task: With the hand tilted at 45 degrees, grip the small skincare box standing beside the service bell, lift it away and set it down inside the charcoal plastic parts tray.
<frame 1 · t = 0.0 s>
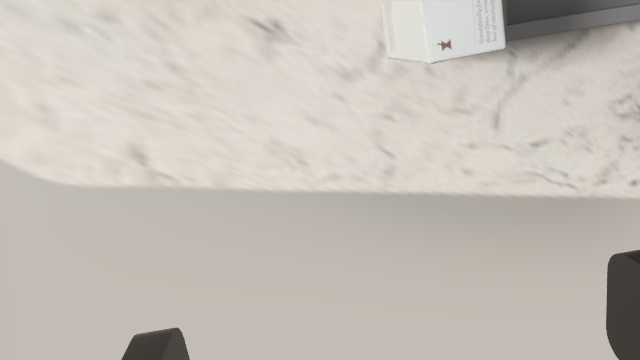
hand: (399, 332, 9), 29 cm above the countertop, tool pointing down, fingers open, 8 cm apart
skincare box: (405, 11, 36), on the countertop
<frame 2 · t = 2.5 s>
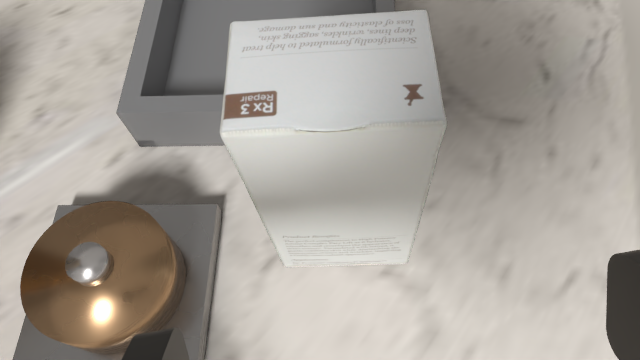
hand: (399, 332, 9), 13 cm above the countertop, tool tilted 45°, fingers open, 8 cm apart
tray: (274, 46, 30), on the countertop
service bell: (128, 290, 23), on the countertop
skincare box: (341, 231, 24), on the countertop
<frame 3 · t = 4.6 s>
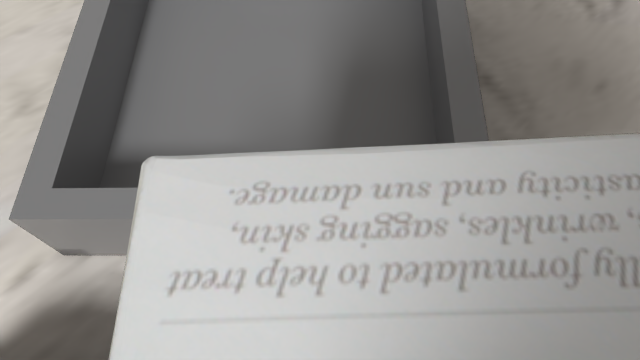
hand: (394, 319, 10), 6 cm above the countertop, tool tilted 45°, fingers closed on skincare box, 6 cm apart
tray: (277, 90, 20), on the countertop
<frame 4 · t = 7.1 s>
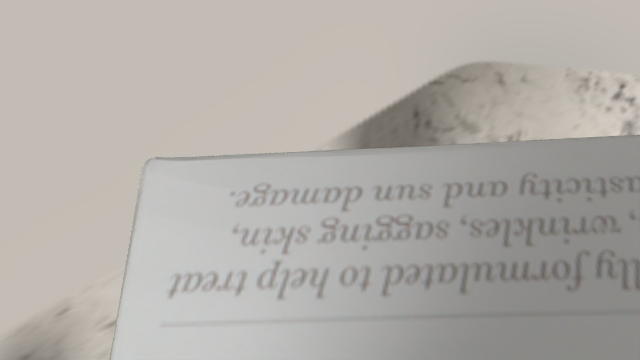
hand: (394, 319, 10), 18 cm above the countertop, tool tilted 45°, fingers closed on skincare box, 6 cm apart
when the fingers open (8 cm above the countertop, at t = 9.8 s): skincare box drops 1 cm, resting on tray.
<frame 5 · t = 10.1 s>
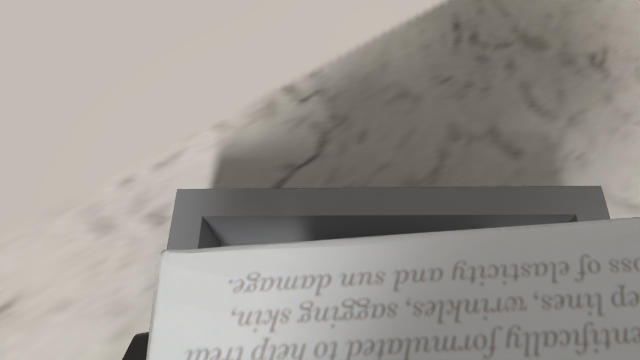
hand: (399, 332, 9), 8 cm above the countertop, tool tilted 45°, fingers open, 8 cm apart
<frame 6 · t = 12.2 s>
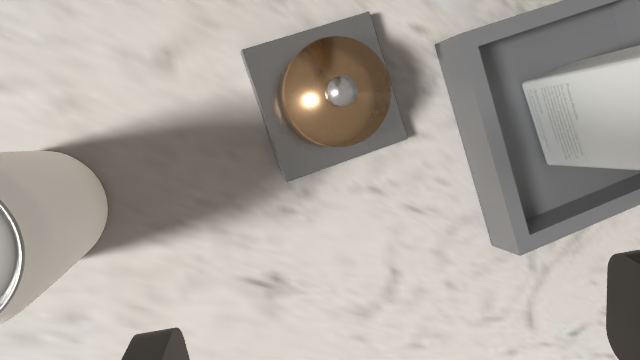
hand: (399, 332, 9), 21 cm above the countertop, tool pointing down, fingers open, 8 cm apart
can: (48, 208, 27), on the countertop
tray: (553, 115, 34), on the countertop
service bell: (324, 97, 30), on the countertop
skincare box: (552, 113, 33), resting on tray
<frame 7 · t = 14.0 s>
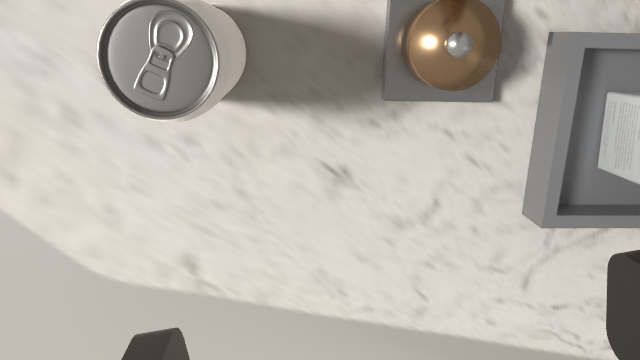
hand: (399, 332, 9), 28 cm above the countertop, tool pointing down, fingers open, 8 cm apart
can: (201, 52, 35), on the countertop
tray: (621, 128, 38), on the countertop
service bell: (439, 43, 35), on the countertop
skincare box: (622, 126, 38), resting on tray
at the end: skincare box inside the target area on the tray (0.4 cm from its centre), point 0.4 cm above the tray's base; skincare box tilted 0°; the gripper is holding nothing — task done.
